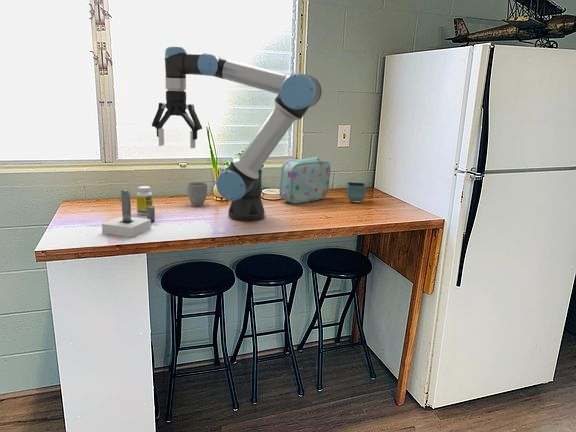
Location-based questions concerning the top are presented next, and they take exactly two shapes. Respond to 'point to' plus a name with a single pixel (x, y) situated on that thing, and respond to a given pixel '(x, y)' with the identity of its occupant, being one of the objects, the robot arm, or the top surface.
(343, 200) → the top surface
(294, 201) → the lunch box
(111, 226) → the socket block
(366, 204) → the top surface
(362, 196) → the flower pot
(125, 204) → the long pin
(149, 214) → the short pin
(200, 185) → the mug
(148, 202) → the pill bottle
